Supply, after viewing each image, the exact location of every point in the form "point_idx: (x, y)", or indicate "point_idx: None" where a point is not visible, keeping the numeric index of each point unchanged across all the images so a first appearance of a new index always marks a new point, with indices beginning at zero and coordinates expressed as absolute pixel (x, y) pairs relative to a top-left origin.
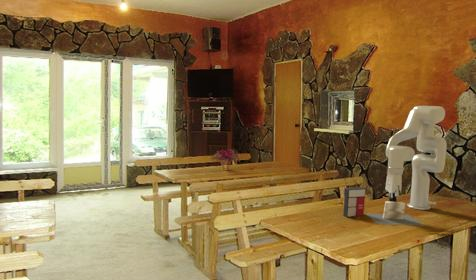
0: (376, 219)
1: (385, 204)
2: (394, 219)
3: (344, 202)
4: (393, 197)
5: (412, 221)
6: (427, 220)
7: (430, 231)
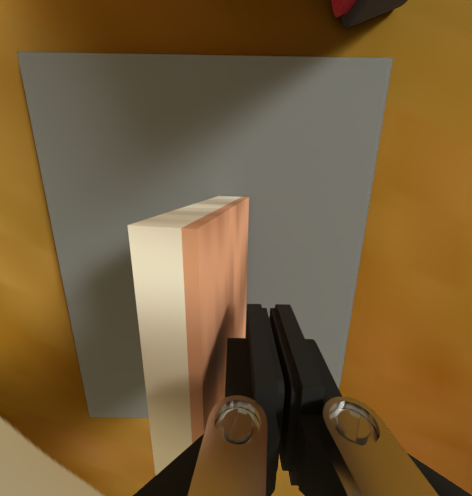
0: (174, 106)
1: (173, 217)
2: None
3: None
4: (185, 455)
5: None
6: None
7: (7, 400)
